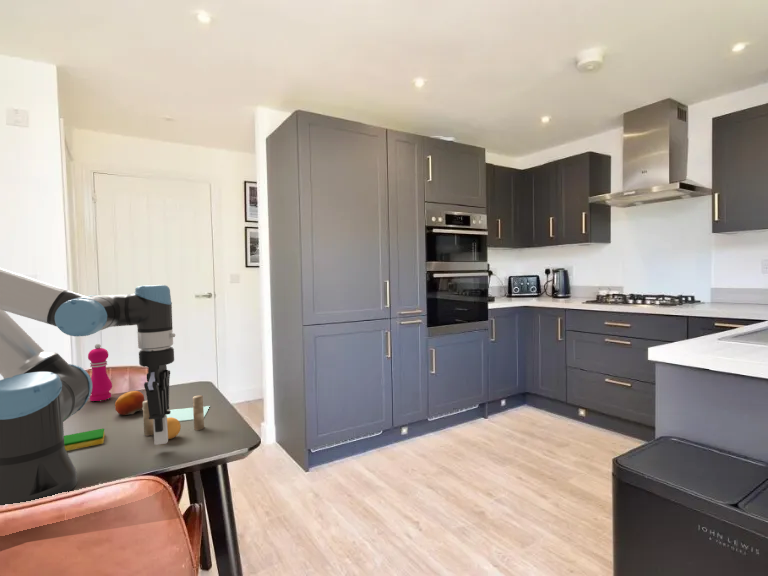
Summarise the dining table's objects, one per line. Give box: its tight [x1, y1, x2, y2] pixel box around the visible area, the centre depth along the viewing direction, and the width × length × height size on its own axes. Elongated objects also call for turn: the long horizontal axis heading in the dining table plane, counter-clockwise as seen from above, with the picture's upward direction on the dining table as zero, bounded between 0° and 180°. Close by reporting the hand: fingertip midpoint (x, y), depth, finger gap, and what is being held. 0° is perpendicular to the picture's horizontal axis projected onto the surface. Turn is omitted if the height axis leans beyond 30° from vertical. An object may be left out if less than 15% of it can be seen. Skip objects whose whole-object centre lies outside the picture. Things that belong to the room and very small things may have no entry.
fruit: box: [114, 390, 145, 416], centre depth 131 cm, size 8×8×8 cm
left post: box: [142, 400, 154, 437], centre depth 112 cm, size 3×3×9 cm
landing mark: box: [166, 405, 211, 422], centre depth 128 cm, size 12×12×1 cm
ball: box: [167, 417, 182, 440], centre depth 109 cm, size 6×6×6 cm
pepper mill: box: [87, 343, 113, 402], centre depth 146 cm, size 7×7×20 cm
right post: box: [192, 394, 205, 431], centre depth 115 cm, size 3×3×9 cm
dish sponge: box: [64, 428, 106, 452], centre depth 106 cm, size 7×14×2 cm, turn 122°
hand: (161, 442), depth 101 cm, fingers closed
